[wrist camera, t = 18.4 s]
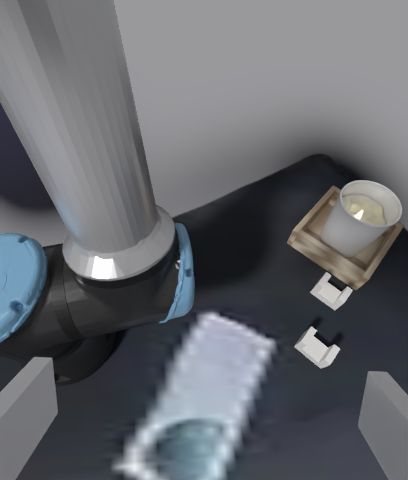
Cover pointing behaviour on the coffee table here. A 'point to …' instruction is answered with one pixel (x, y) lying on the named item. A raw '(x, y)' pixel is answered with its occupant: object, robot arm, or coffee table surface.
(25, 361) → the robot arm
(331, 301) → the clips
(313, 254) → the square wooden tray
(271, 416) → the coffee table surface
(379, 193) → the candle holder
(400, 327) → the coffee table surface
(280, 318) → the coffee table surface
